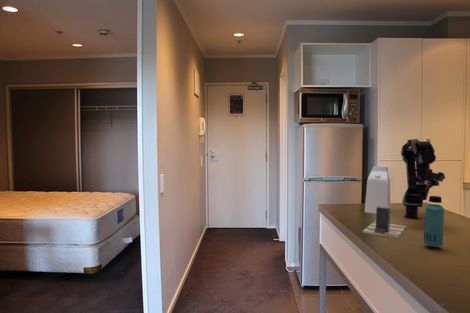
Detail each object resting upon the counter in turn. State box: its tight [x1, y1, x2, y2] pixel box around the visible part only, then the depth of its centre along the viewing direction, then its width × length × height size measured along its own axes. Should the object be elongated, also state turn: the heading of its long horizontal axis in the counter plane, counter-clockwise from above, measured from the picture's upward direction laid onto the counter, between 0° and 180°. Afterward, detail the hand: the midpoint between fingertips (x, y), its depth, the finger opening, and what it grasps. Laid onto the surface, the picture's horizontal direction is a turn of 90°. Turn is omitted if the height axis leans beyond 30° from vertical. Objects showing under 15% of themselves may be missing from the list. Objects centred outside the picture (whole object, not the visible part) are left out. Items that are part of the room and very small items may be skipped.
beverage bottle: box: [423, 195, 445, 248], centre depth 123 cm, size 6×7×20 cm
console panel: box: [362, 221, 407, 240], centre depth 147 cm, size 20×14×3 cm
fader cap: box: [375, 206, 391, 232], centre depth 143 cm, size 4×5×10 cm
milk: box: [364, 165, 391, 214], centre depth 185 cm, size 12×12×26 cm
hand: (424, 200), depth 152 cm, fingers closed
